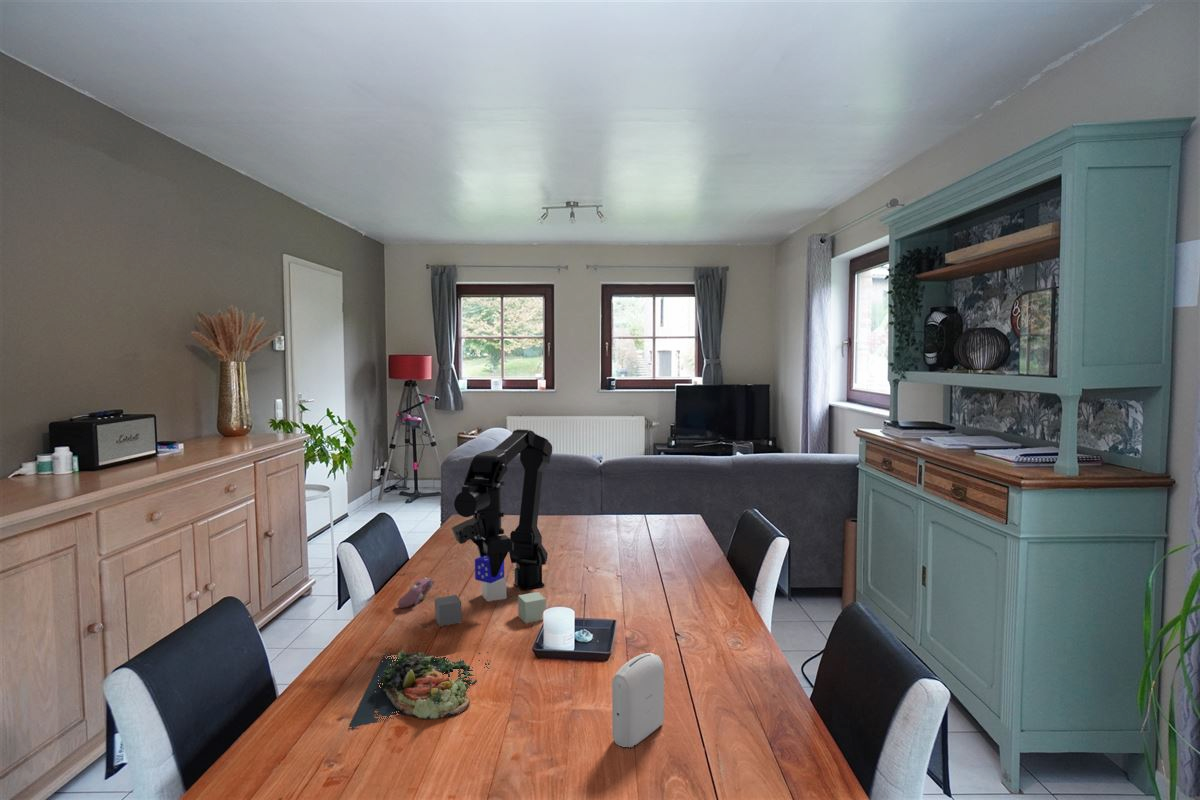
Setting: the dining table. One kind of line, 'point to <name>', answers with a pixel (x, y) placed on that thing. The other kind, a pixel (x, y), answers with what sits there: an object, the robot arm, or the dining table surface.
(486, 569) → the die
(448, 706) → the plated dish
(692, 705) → the dining table surface
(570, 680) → the dining table surface
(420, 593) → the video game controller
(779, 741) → the dining table surface
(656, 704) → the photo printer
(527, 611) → the sage green block
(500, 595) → the off-white block
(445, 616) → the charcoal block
